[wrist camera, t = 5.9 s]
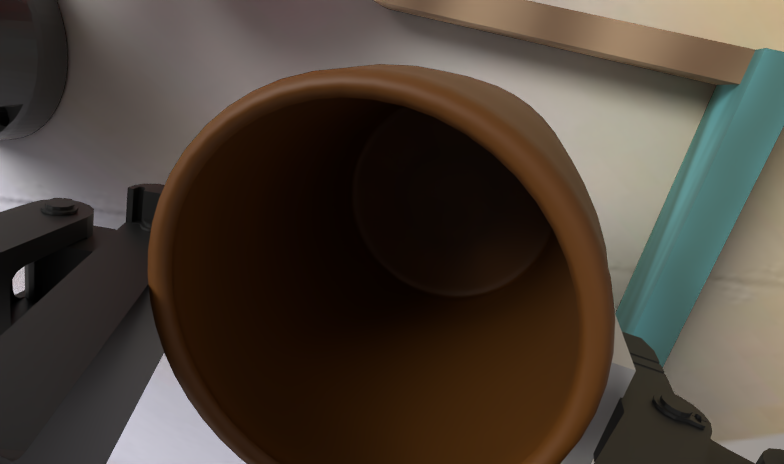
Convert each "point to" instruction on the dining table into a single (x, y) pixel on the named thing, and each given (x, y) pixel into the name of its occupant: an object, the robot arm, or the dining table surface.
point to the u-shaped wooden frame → (702, 161)
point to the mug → (383, 274)
